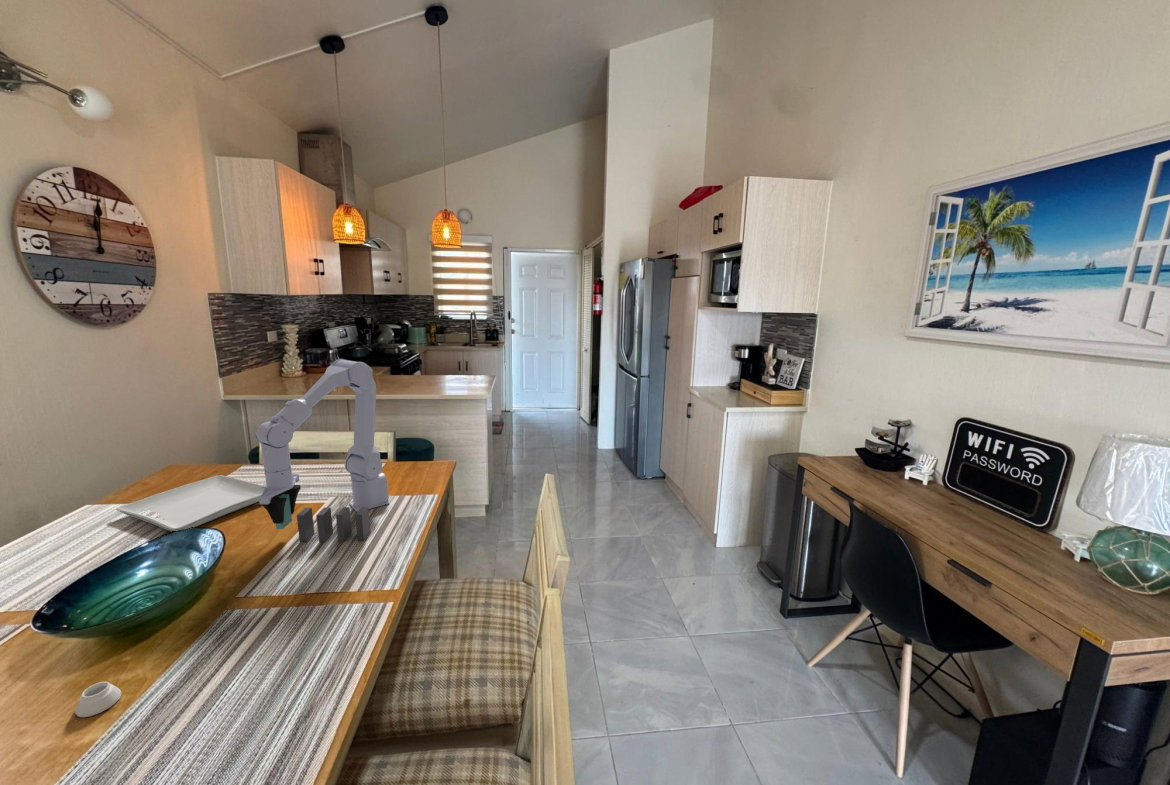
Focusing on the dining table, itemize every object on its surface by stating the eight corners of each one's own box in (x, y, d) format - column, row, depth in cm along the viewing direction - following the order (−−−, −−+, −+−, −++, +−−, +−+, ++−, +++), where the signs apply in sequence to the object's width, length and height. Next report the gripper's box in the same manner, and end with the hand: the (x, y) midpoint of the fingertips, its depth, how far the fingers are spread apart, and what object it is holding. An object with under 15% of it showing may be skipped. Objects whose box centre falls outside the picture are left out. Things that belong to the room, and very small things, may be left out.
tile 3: (333, 533, 126) (330, 507, 125) (325, 541, 122) (322, 515, 121) (327, 533, 126) (324, 507, 125) (319, 542, 122) (316, 515, 120)
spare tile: (292, 520, 125) (289, 494, 123) (282, 529, 121) (279, 501, 119) (285, 520, 125) (282, 494, 123) (276, 529, 120) (272, 501, 119)
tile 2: (351, 533, 127) (349, 507, 125) (344, 541, 123) (342, 514, 121) (345, 533, 127) (343, 507, 125) (338, 541, 122) (335, 514, 121)
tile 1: (370, 532, 127) (368, 506, 126) (363, 541, 123) (361, 514, 121) (364, 532, 127) (361, 507, 125) (357, 541, 123) (355, 514, 121)
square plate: (115, 520, 132) (113, 507, 131) (221, 484, 156) (220, 473, 155) (175, 541, 122) (173, 527, 121) (278, 499, 146) (276, 487, 146)
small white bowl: (129, 689, 77) (92, 694, 76) (126, 674, 77) (88, 679, 75) (106, 716, 72) (67, 722, 71) (103, 699, 72) (62, 705, 71)
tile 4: (314, 533, 126) (311, 507, 125) (306, 542, 122) (303, 515, 120) (308, 533, 126) (305, 507, 124) (299, 542, 122) (296, 515, 120)
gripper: (277, 458, 126) (283, 505, 129) (243, 479, 112) (250, 532, 115) (305, 458, 127) (310, 505, 130) (274, 479, 113) (280, 532, 115)
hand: (283, 518), depth 122 cm, fingers closed on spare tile, 4 cm apart
